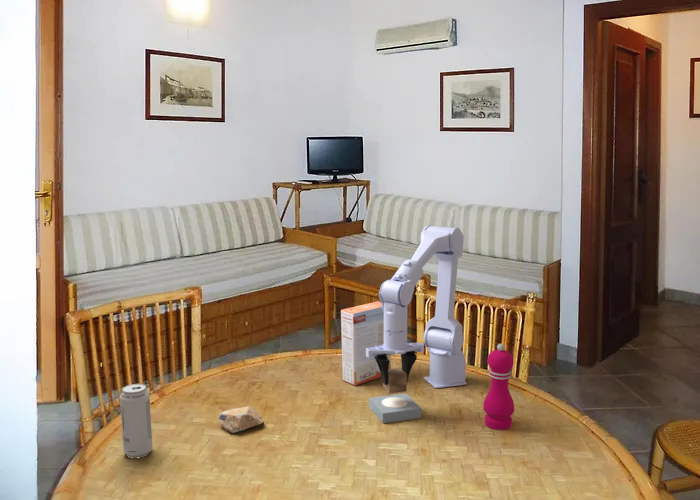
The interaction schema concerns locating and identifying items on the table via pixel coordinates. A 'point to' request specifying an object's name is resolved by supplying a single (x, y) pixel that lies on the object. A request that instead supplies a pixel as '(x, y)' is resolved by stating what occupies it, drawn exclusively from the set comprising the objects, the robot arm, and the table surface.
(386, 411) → the plinth
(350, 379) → the cracker box
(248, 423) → the stone
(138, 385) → the energy drink can
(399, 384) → the walnut block
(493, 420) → the pepper mill
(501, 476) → the table surface
